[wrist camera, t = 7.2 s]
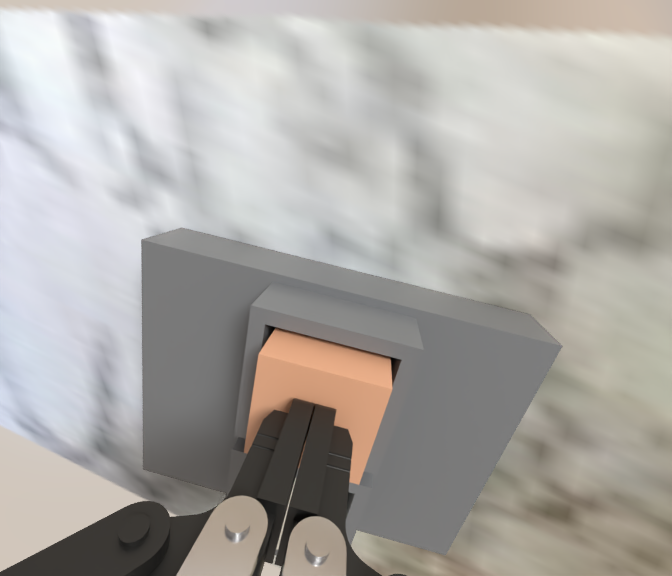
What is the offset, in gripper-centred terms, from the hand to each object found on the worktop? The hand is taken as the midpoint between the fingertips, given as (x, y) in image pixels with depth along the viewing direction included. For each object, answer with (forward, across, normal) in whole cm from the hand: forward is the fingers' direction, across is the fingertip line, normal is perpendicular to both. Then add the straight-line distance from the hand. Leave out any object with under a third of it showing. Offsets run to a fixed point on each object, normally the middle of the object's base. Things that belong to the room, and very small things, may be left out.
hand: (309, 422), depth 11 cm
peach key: (+2, 0, 0) cm, 2 cm away
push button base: (+7, 0, +4) cm, 8 cm away
